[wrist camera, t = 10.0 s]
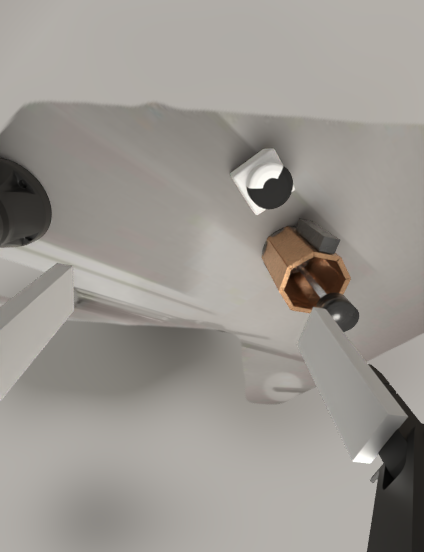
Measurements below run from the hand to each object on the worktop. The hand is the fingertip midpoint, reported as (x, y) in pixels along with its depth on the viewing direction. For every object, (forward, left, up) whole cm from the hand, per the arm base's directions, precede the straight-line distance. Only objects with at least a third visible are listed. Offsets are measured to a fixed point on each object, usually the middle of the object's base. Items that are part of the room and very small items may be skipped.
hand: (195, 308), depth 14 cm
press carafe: (+19, -6, -36) cm, 41 cm away
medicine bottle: (+9, +5, -37) cm, 38 cm away
